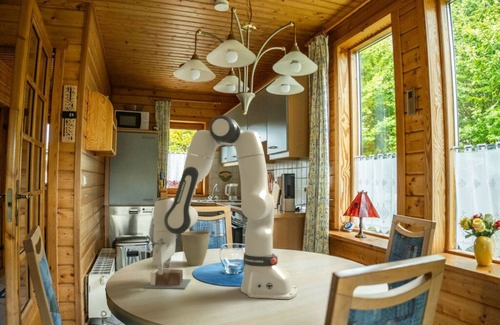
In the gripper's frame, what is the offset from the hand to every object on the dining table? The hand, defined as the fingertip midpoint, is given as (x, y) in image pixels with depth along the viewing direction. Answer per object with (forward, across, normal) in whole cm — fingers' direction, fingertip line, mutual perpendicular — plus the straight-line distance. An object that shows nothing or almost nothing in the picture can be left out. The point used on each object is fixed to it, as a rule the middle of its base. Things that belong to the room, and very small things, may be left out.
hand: (164, 270), depth 138 cm
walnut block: (+3, 0, -7) cm, 8 cm away
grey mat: (+6, +1, -2) cm, 6 cm away
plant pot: (+6, +34, -6) cm, 35 cm away
